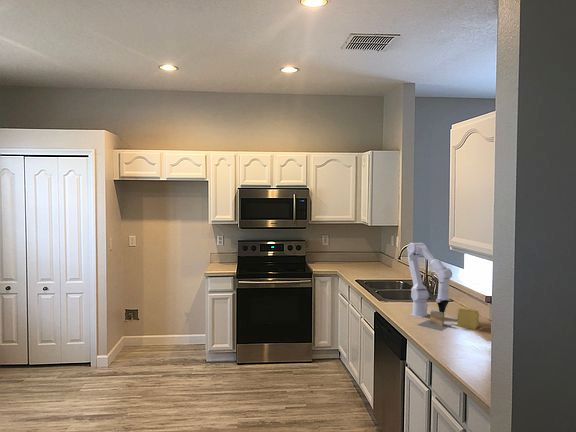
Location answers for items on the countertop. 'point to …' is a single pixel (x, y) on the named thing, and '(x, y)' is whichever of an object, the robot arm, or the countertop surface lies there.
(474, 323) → the cheese
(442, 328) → the mat
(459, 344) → the countertop surface
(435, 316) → the tile
